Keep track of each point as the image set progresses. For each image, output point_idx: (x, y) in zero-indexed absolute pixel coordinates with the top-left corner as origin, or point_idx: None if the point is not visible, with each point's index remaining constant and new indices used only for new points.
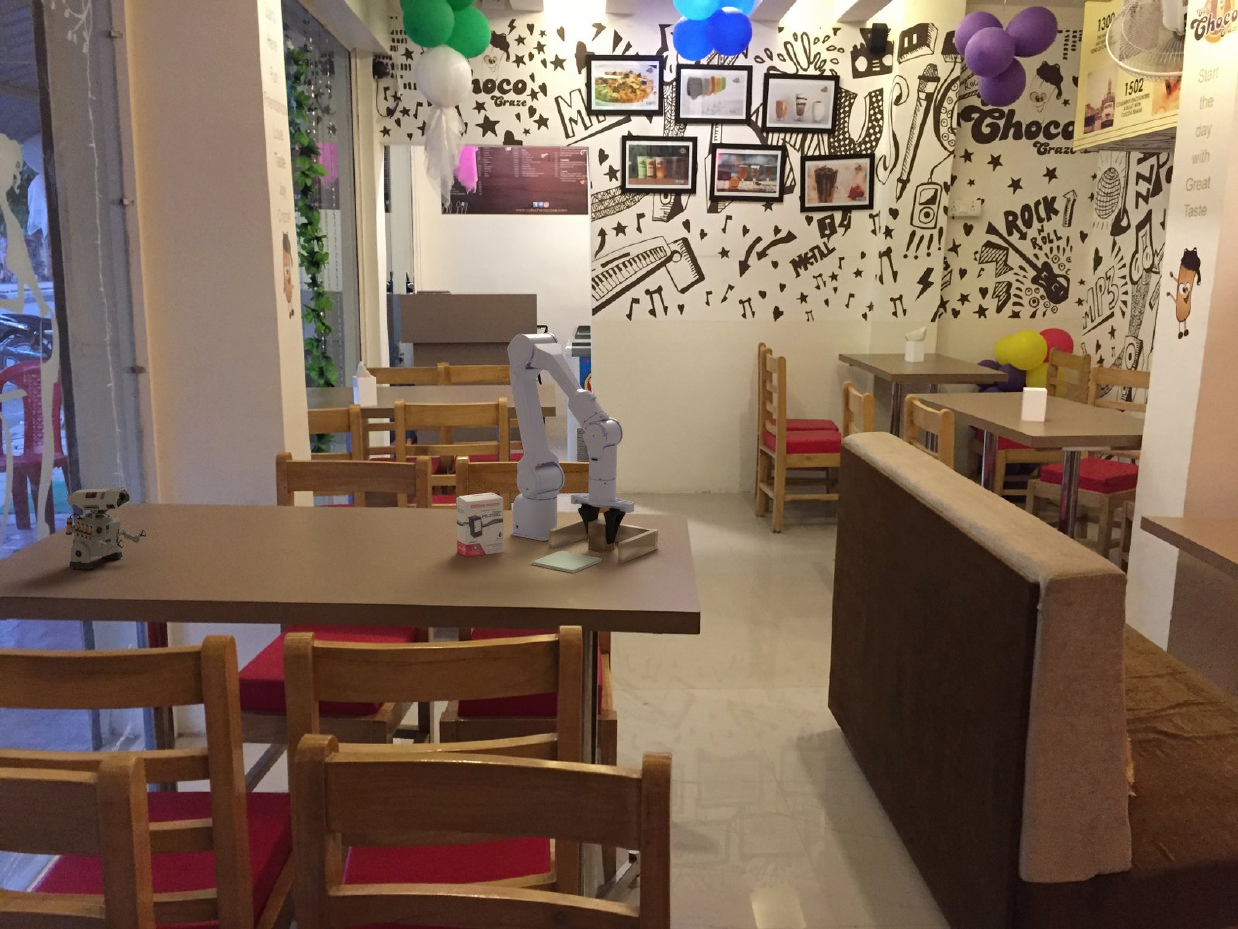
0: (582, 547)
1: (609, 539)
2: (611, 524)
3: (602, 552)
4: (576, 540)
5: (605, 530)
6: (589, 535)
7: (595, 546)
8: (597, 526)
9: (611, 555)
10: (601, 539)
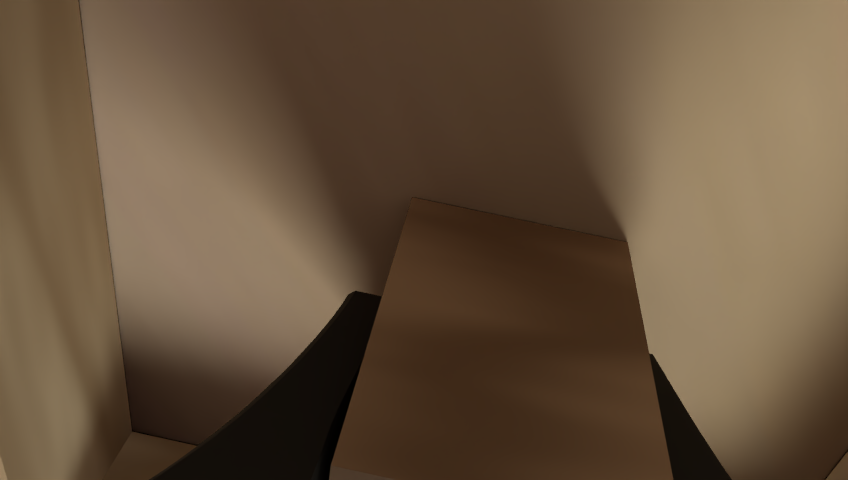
0: (721, 308)
1: (331, 323)
2: (179, 463)
3: (433, 203)
4: (839, 469)
5: (350, 402)
6: (631, 361)
7: (528, 256)
8: (486, 454)
9: (298, 146)
10: (431, 301)
